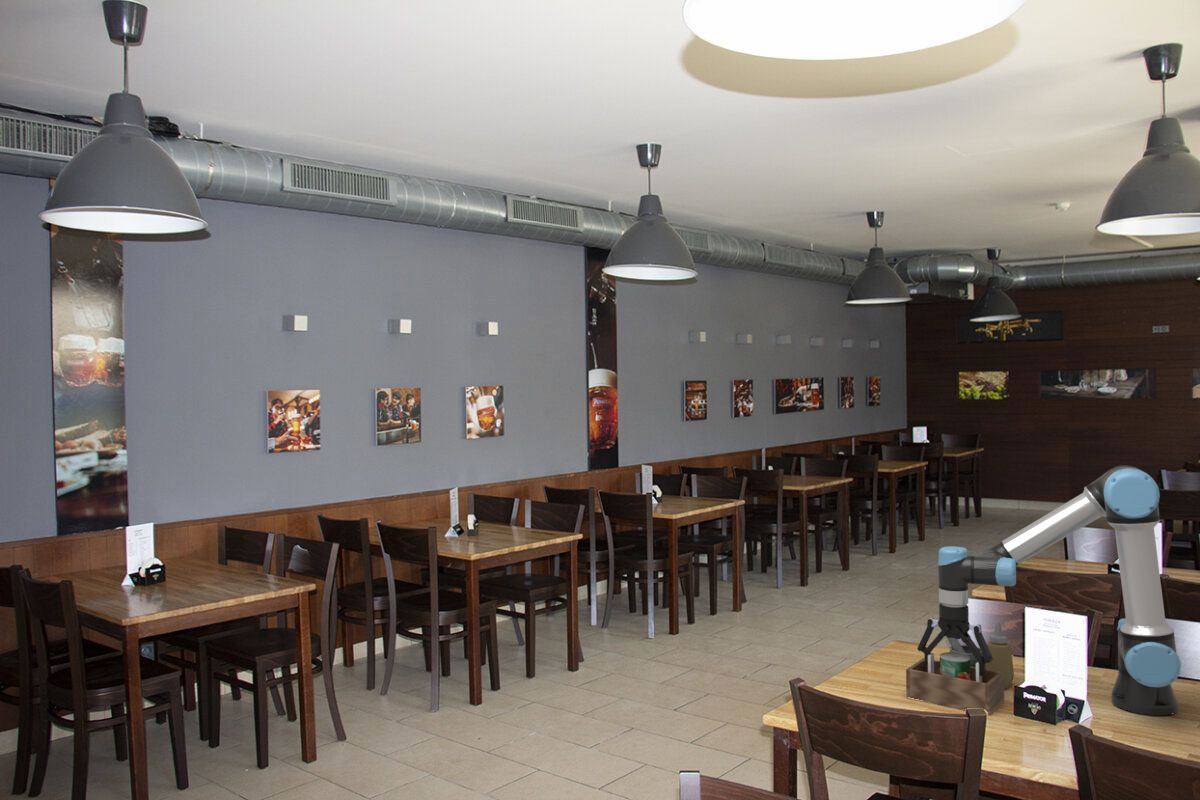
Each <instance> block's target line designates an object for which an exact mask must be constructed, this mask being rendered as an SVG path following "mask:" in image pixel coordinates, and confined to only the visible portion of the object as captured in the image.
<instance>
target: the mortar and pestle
mask: <svg viewBox="0 0 1200 800" xmlns="http://www.w3.org/2000/svg"><path fill="white" fill-rule="evenodd" d="M945 637H946V638H947V636H945ZM947 640H948V643H949V645H950V646H949V652H955V653H962V654H965V655H968V656H969V657H970V667H976V663H977V662H978V661H977V659H976V658H975V657H974V655H973V654H972V652H971V651H970V650H969V648H968V647H967V645H966V644H961V643H960V642H959V639H955V638H947ZM977 648H978V649H979V650H980V652H981V649H980V647H978V646H977ZM981 653H982V652H981ZM982 655H983V654H982Z"/></svg>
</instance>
